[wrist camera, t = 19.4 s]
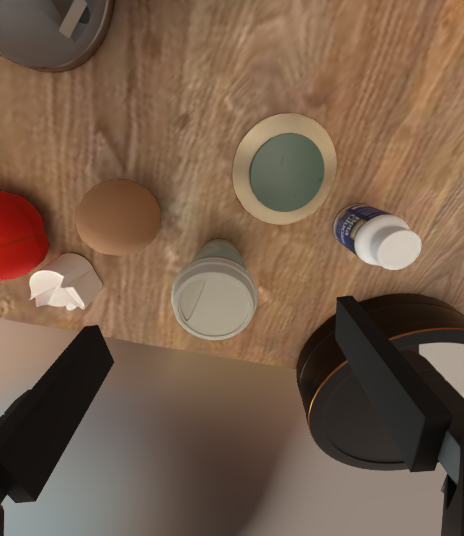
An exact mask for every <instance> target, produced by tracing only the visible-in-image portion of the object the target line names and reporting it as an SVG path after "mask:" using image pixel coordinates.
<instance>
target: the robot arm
mask: <svg viewBox="0 0 464 536" xmlns="http://www.w3.org/2000/svg"><path fill="white" fill-rule="evenodd" d="M113 5H114V0H0V55H2V56H3V57H5V58H7V59H9V60H11V61H13V62H16V63H18V64H20V65H22V66H25V67H28V68H30V69H34V70H38V71H43V72H62V71H66V70H70V69H73V68H75V67H77V66H79V65H81V64H82V63H84V62H85V61H87V60H88V59H89V58H90V57H91V56H92V55H93V54H94V53H95V52H96V50H97V49H98V48H99V46H100V45H101V43H102V41H103V39H104V37H105V35H106V33H107V30H108V28H109V25H110V21H111V17H112V12H113ZM335 339H336V341H337V342H338V344H339V346H340V348H341V349H342V351H343V353H344V355H345V357H346V358H347V360H348V362H349V364H350V365H351V367H352V369H353V371H354V373H355V374H356V376H357V378H358V380H359V381H360V383H361V385H362V387H363V389H364V390H365V392H366V394H367V396H368V397H369V399H370V401H371V403H372V405H373V406H374V408H375V410H376V412H377V413H378V415H379V417H380V419H381V421H382V422H383V424H384V426H385V428H386V429H387V431H388V433H389V435H390V437H391V438H392V440H393V442H394V444H395V445H396V447H397V449H398V451H399V453H400V454H401V456H402V458H403V460H404V461H405V463H406V465H407V467H408V468H409V470H410V472H421V471H434V470H435V468H436V464H437V462H438V460H439V462H440V463H441V464H442V466H443V467H444V469H445V470H446V472H447V476H446V479H445V481H444V484H443V486H442V489H441V491H442V492H443V493H444V505H443V517H442V530H441V536H464V398H463V397H462V396H461V395H460V394H459V393H458V391H457V390H456V389H455V388H454V387H453V386H452V385H451V384H450V383H449V382H448V381H446V380H445V378H444V377H443V376H442V375H441V374H440V373H439V372H438V371H436V368H435V367H434V366H433V365H432V364H431V363H430V362H429V361H428V360H427V359H426V358H425V357H423V356H422V355H420V354H418V353H417V352H415V351H414V350H412V349H411V350H401V351H398V349H397V348H396V347H395V346H394V345H393V344H392V342H391V341H390V340H389V339H388V338H387V336H386V335H385V334H384V333H383V332H382V331H381V329H380V328H379V327H378V326H377V325H376V324H375V322H374V321H373V320H372V319H371V318H370V316H369V315H368V314H367V313H366V312H365V311H364V309H363V308H362V307H361V306H360V305H359V304H358V302H357V301H356V300H355V299H354V298H353V296H343V297H337V308H336V332H335ZM113 363H114V361H113V358H112V356H111V354H110V352H109V349H108V347H107V345H106V343H105V340H104V338H103V336H102V333H101V331H100V329H99V326H98V325H95V326H86V327H84V328H83V329H82V330H81V332H80V333H79V334H78V335H77V336H76V338H75V339H74V340H73V341H72V342H71V343H70V345H69V346H68V347H67V348H66V349H65V350H64V352H63V353H62V354H61V355H60V356H59V357H58V359H57V360H56V361H55V362H54V363H53V364H52V366H51V367H50V368H49V369H48V370H47V372H46V373H45V374H44V375H43V376H42V378H41V379H40V380H39V381H38V382H37V383H36V384H35V386H34V387H33V388H32V389H31V390H27V391H26V392H25V393H24V394H23V395H21V396H20V397H19V398H18V399H16V400H15V401H14V402H13V403H12V404H11V406H10V407H9V408H8V409H7V410H6V411H5V414H4V415H2V416H1V417H0V536H4V509H3V506H2V505H1V503H2V501H3V500H4V498H5V496H6V495H7V494H8V496H10V498H11V499H12V500H13V501H14V502H15V503H21V502H34V501H36V500H37V498H38V496H39V494H40V493H41V491H42V489H43V487H44V485H45V484H46V482H47V480H48V479H49V477H50V475H51V473H52V471H53V470H54V468H55V466H56V464H57V462H58V461H59V459H60V457H61V455H62V454H63V452H64V450H65V448H66V447H67V445H68V443H69V441H70V440H71V438H72V436H73V434H74V432H75V431H76V429H77V427H78V425H79V424H80V422H81V420H82V418H83V417H84V415H85V413H86V411H87V409H88V408H89V406H90V404H91V402H92V401H93V399H94V397H95V395H96V393H97V392H98V390H99V388H100V386H101V385H102V383H103V381H104V379H105V377H106V376H107V374H108V372H109V370H110V369H111V367H112V365H113Z"/></svg>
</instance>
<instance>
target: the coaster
mask: <svg viewBox="0 0 464 536" xmlns="http://www.w3.org/2000/svg"><path fill="white" fill-rule="evenodd" d="M286 133H295V134H301V135H303V136H305V137H307V138H309V139H310V140H312V141H313V142H314V143H315V144H316V145H317V147H318V148H319V150H320V152H321V154H322V156H323V160H324V170H325V171H324V178H323V182H322V185H321V187H320V189H319V191H318V193H317V194H316V196H315V197H314V198H313V199H312V200H311V201H310V202H309V203H308V204H306V205H305V206H303V207H302V208H299V209H297V210H294V211H290V212H278V211H273V210H272V209H269V208H267V207H265V206H264V205H263V204H262V203H261V202H260V201H258V199H257V197H256V196H255V194H254V193H253V192H252V191H253V190H252V187H251V184H250V183H249V182H250V174H249V172H250V166H251V162H252V160H253V157H254V156H255V153H256V152H257V151H258V149H259V148H260V147H261V145H262V144H264V143H265V142H267V141H268V140H269V139H270V138H273V137H276V136H278V135H279V134H286ZM336 169H337V158H336V152H335V148H334V145H333V143H332V140H331V138H330V137H329V135H328V133H327V132H326V131H325V129H324V128H323V127H322V126H321V125H320V124H318V123H317V122H316V121H314V120H313V119H311V118H309V117H307V116H304V115H301V114H296V113H282V114H277V115H273V116H271V117H268V118H266V119H264V120H262V121H260V122H259V123H258V124H256V125H255V126H254V127H253V128H252V129H251V130H250V131H249V132H248V133H247V134H246V135H245V137H244V138H243V139H242V141H241V143H240V144H239V146H238V149H237V151H236V154H235V157H234V161H233V167H232V180H233V186H234V190H235V193H236V195H237V197H238V200H239V201H240V203H241V204H242V206H243V207H244V208H245V209H246V211H248V212H249V213H250V214H251V215H252V216H254V217H255V218H257V219H259V220H261V221H263V222H266V223H270V224H277V225H282V224H290V223H294V222H297V221H300V220H302V219H304V218H306V217H308V216H309V215H311V214H312V213H313V212H315V211H316V210H317V209H318V208H319V207H320V206H321V205H322V203H323V202H324V201H325V200H326V198H327V196H328V195H329V193H330V191H331V189H332V186H333V184H334V181H335V176H336Z"/></svg>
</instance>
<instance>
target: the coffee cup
mask: <svg viewBox="0 0 464 536" xmlns="http://www.w3.org/2000/svg"><path fill="white" fill-rule="evenodd" d="M257 301H258V291H257V287H256V284H255V282H254V280H253V278H252V276H251V275H250V274H249V273H248V272H247V269H246V267H245V264H244V262H243V260H242V257H241V255H240V253H239V251H238V249H237V248H236V246H235V245H234V244H232V243H231V242H229V241H226V240H223V239H215V240H211V241H209V242H207V243H206V244H205V245H204V246H203V247H202V248H201V249H200V250H199V252H198V253H197V254H196V256H195V257H194V259H193V260H192V261H191V263H190V264H189V265H187V266H186V267H185V268H184V269H182V270H181V271H180V273H179V274H178V275H177V277H176V278H175V280H174V283H173V286H172V293H171V302H172V306H173V309H174V313H175V316H176V318H177V320H178V322H179V323H180V325H181V326H182V327H183V328H184V329H185V330H187V331H188V332H189V333H191V334H193V335H195V336H197V337H199V338H203V339H208V340H221V339H226V338H230V337H232V336H234V335H236V334H238V333H240V332H241V331H242V330H243V329H244V328H245V327H246V326H247V325H248V324H249V322H250V320H251V318H252V317H253V315H254V313H255V310H256V307H257Z"/></svg>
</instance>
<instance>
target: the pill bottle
mask: <svg viewBox="0 0 464 536" xmlns="http://www.w3.org/2000/svg"><path fill="white" fill-rule="evenodd" d="M334 234H335V236H336V238H337V239H338V240H339V241H340V242H341V243H342V244H343V245H344V246H346V247H347V248H348V249H349V250H351V251H352V252H353V253H354V254H355V255H357V256H358V257H359V258H360V259H362V260H363V261H364V262H366V263H368V264H372V265H381V266H382V267H384V268H386V269H390V270H398V269H402V268H404V267H406V266H408V265H410V264H411V263H412V262H414V260H415V259H416V258H417V257H418V255H419V253H420V251H421V240H420V238H419V236H418V235H417V234H416V233H415V232H413V231H410V229H409V227H408V225H407V223H406V222H405V221H404V220H402V219H401V218H399V217H397V216H395V215H392V214H389V213H387V212H384V211H382V210H379V209H376V208H374V207H371V206H368V205H365V204H354V205H350V206H348V207H346V208H345V209H343V210H342V211H341V212H340V213H339V214H338V216H337V217H336V219H335V222H334Z"/></svg>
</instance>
